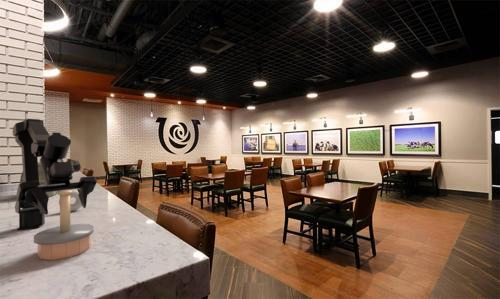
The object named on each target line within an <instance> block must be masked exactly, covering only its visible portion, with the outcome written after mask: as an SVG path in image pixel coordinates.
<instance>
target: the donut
mask: <svg viewBox="0 0 500 299" xmlns="http://www.w3.org/2000/svg"><path fill="white" fill-rule="evenodd" d="M78 194H79V192H78V190H77V189H73V190H72V194H70V199H71V198H74V199H75V202H74V203H70V208H71V212H74V211H77V210H79V209H80V208H82V207H83V206H82V204H81V201H80V199H79V196H78ZM58 204H59V206H60V198H59V200H58Z"/></svg>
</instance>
